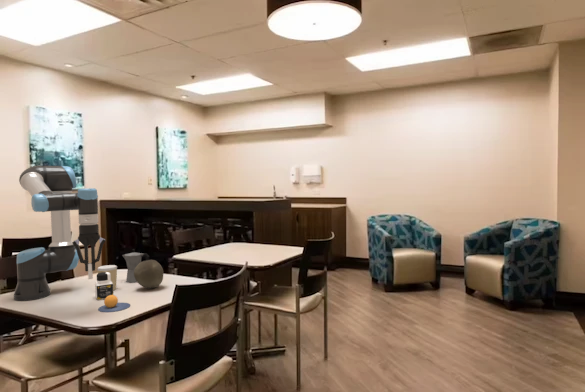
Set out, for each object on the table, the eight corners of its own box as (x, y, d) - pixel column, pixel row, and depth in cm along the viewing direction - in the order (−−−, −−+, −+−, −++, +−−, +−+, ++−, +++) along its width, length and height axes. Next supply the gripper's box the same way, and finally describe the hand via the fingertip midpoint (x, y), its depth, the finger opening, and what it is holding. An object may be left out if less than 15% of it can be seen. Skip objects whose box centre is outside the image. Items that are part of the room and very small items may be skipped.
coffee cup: (121, 287, 210) (120, 264, 210) (111, 292, 201) (110, 268, 201) (104, 287, 211) (103, 264, 211) (94, 292, 202) (93, 268, 201)
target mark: (97, 313, 167) (97, 313, 167) (99, 305, 179) (99, 304, 179) (130, 309, 172) (130, 309, 172) (130, 301, 184) (130, 301, 184)
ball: (119, 295, 175) (117, 308, 174) (117, 294, 179) (116, 307, 178) (105, 295, 172) (104, 308, 171) (104, 294, 177) (102, 307, 176)
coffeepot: (119, 283, 220) (118, 250, 219) (126, 279, 229) (125, 248, 229) (146, 282, 219) (145, 250, 219) (153, 278, 229) (152, 247, 228)
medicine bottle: (97, 300, 187) (96, 275, 186) (95, 296, 193) (94, 272, 193) (113, 297, 191) (112, 273, 190) (111, 294, 197) (110, 270, 196)
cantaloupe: (149, 284, 216) (149, 256, 215) (169, 286, 210) (168, 258, 209) (128, 290, 203) (128, 261, 203) (149, 293, 197) (148, 263, 196)
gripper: (70, 225, 165) (72, 282, 165) (104, 223, 170) (106, 278, 170) (72, 224, 172) (74, 278, 172) (105, 222, 177) (107, 275, 177)
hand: (90, 278), depth 171 cm, fingers closed
